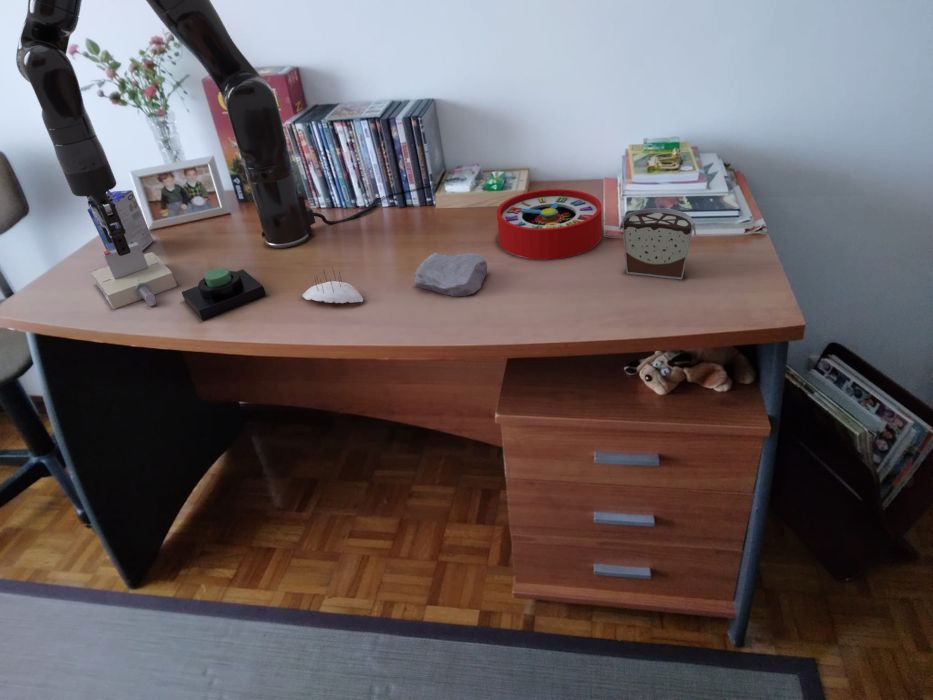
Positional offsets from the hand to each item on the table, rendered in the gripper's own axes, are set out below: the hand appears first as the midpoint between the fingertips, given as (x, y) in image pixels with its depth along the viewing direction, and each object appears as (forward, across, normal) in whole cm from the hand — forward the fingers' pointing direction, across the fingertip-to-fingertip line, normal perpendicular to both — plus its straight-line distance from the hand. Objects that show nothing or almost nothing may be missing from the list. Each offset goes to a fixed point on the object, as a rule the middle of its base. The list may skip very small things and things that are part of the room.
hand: (119, 247), depth 129 cm
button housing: (+8, -20, -11) cm, 25 cm away
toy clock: (+8, -46, -68) cm, 83 cm away
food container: (+8, -70, -72) cm, 100 cm away
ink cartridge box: (+8, +19, -4) cm, 21 cm away
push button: (+4, -20, -11) cm, 24 cm away
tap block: (+8, 0, 0) cm, 8 cm away
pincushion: (+8, -36, -25) cm, 45 cm away
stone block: (+8, -47, -44) cm, 65 cm away
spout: (+8, -10, 0) cm, 13 cm away
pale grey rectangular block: (+5, 0, 0) cm, 5 cm away
